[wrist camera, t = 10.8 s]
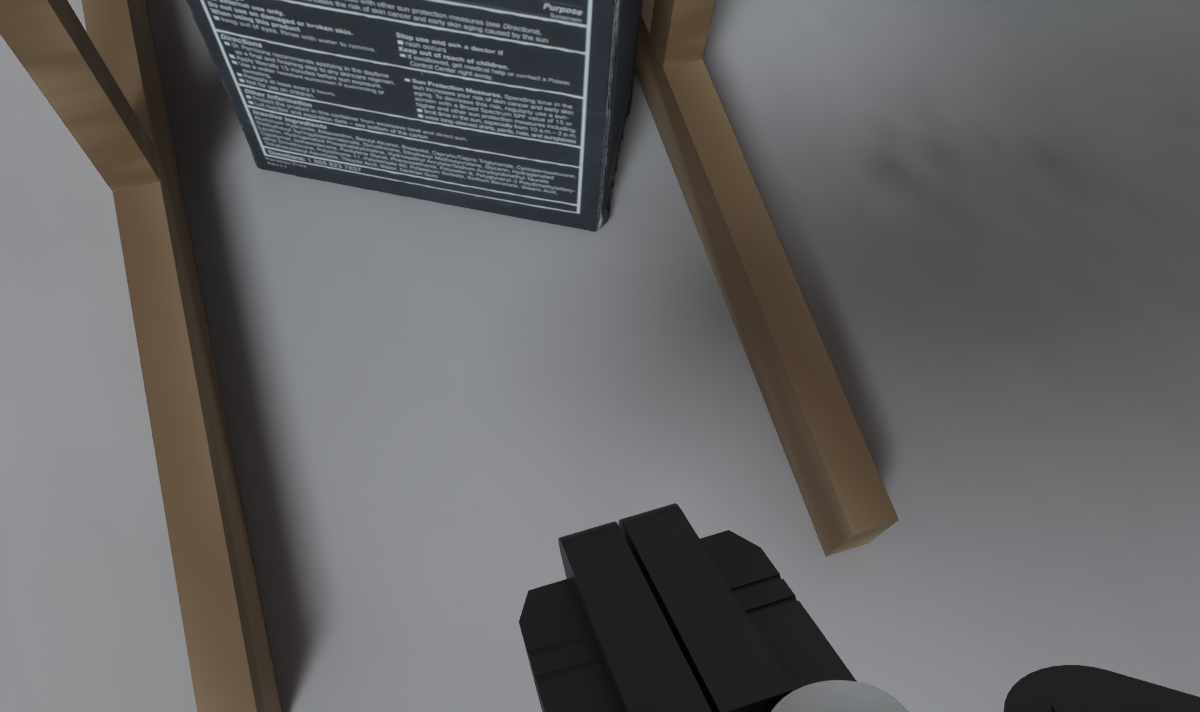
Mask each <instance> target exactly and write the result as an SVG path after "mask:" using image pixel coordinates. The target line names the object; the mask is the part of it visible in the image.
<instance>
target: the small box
mask: <svg viewBox="0 0 1200 712" xmlns="http://www.w3.org/2000/svg"><path fill="white" fill-rule="evenodd" d="M186 1H187V3H188V5H189V7H190V10H191V13H192V16H193V18H194V20H195V22H196V24H197V26H198V28H199V31H200V33H201V35H202V37H203V39H204V42H205V44H206V46H207V49H208V51H209V54H210V56H211V58H212V60H213V62H214V64H215V66H216V69H217V72H218V74H219V76H220V79H221V80H222V83H223V86H224V87H225V89H226V91H227V93H228V96H229V100H230V102H231V104H232V107H233V109H234V111H235V113H236V115H237V117H238V119H239V121H240V124H241V125H242V130H243V132H244V134H245V136H246V139H247V141H248V143H249V145H250V148H251V150H252V154H253V157H254V160H255V163H256V165H257V167H259V168H260V169H264V170H270V171H275V172H281V173H285V174H290V175H296V176H300V177H305V178H310V179H316V180H322V181H328V182H333V183H337V184H343V185H348V186H353V187H359V188H364V189H368V190H375V191H380V192H385V193H391V194H396V195H401V196H406V197H412V198H417V199H423V200H429V201H434V202H438V203H444V204H449V205H454V206H460V207H465V208H470V209H476V210H482V211H487V212H492V213H497V214H503V215H508V216H514V217H518V218H524V219H529V220H534V221H540V222H546V223H551V224H558V225H562V226H568V227H574V228H579V229H585V230H589V231H593V232H594V231H597V230H598V229H600V228H601V227H603V225H604V224H605V223H606V222H607V221H608V214H609V203H610V197H609V193H610V190H611V189H612V188H613V185H614V184H613V180H612V179H613V175H614V173H615V172H616V169H617V166H616V162H617V160H618V151H619V148H620V142H621V140H622V138H623V129H624V125H625V119H626V117H627V116H628V115H629V112H630V106H631V98H632V89H633V80H634V75H635V60H636V53H637V46H638V36H639V28H640V19H641V10H642V3H643V0H186Z"/></svg>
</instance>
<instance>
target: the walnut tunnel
mask: <svg viewBox="0 0 1200 712" xmlns="http://www.w3.org/2000/svg"><path fill="white" fill-rule="evenodd" d="M715 1H716V0H643V3H642V10H641V19H640V28H639V36H638V46H637V53H636V60H635V73H636V75H637V78H638V80H639V83H640V85H641V88H642V90H643V93H644V95H645V98H646V101H647V103H648V106H649V108H650V111H651V113H652V116H653V118H654V121H655V123H656V126H657V128H658V131H659V134H660V136H661V139H662V141H663V144H664V146H665V149H666V151H667V154H668V156H669V159H670V161H671V164H672V167H673V169H674V172H675V174H676V177H677V179H678V182H679V184H680V187H681V189H682V192H683V194H684V197H685V200H686V202H687V205H688V207H689V210H690V212H691V215H692V217H693V220H694V222H695V225H696V227H697V230H698V233H699V235H700V238H701V240H702V243H703V245H704V248H705V250H706V253H707V255H708V258H709V260H710V263H711V266H712V268H713V271H714V273H715V276H716V278H717V281H718V283H719V286H720V288H721V291H722V293H723V296H724V299H725V301H726V304H727V306H728V309H729V311H730V314H731V316H732V319H733V321H734V324H735V326H736V329H737V332H738V334H739V337H740V339H741V342H742V344H743V347H744V349H745V352H746V354H747V357H748V359H749V362H750V365H751V367H752V370H753V372H754V375H755V377H756V380H757V382H758V385H759V387H760V390H761V393H762V395H763V398H764V400H765V403H766V405H767V408H768V410H769V413H770V415H771V418H772V420H773V423H774V426H775V428H776V431H777V433H778V436H779V438H780V441H781V443H782V446H783V448H784V451H785V453H786V456H787V459H788V461H789V464H790V466H791V469H792V471H793V474H794V476H795V479H796V481H797V484H798V486H799V489H800V492H801V494H802V497H803V499H804V502H805V504H806V507H807V509H808V512H809V514H810V517H811V519H812V522H813V525H814V527H815V530H816V532H817V535H818V537H819V540H820V542H821V545H822V547H823V550H824V552H825V555H826V556H828V555H831V554H835V553H838V552H841V551H844V550H847V549H851V548H854V547H857V546H860V545H863V544H866V543H869V542H870V541H871V540H873V539H874V538H875V537H877V536H878V535H879V534H881V533H882V532H883V531H885V530H886V529H887V528H889V527H890V526H891V525H893V524H894V523H895V522H897V521H898V518H897V515H896V513H895V510H894V508H893V506H892V503H891V501H890V499H889V496H888V494H887V492H886V489H885V487H884V485H883V482H882V480H881V478H880V475H879V473H878V470H877V468H876V466H875V463H874V461H873V459H872V456H871V454H870V452H869V449H868V447H867V445H866V442H865V440H864V438H863V435H862V433H861V430H860V428H859V426H858V423H857V421H856V419H855V416H854V414H853V412H852V409H851V407H850V405H849V402H848V400H847V398H846V395H845V393H844V390H843V388H842V386H841V383H840V381H839V379H838V376H837V374H836V372H835V369H834V367H833V365H832V362H831V360H830V358H829V355H828V353H827V350H826V348H825V346H824V343H823V341H822V339H821V336H820V334H819V332H818V329H817V327H816V325H815V322H814V320H813V318H812V315H811V313H810V310H809V308H808V306H807V303H806V301H805V299H804V296H803V294H802V292H801V289H800V287H799V285H798V282H797V280H796V278H795V275H794V273H793V270H792V268H791V266H790V263H789V261H788V259H787V256H786V254H785V252H784V249H783V247H782V245H781V242H780V240H779V238H778V235H777V233H776V230H775V228H774V226H773V223H772V221H771V219H770V216H769V214H768V212H767V209H766V207H765V205H764V202H763V200H762V197H761V195H760V193H759V190H758V188H757V186H756V183H755V181H754V179H753V176H752V174H751V172H750V169H749V167H748V165H747V162H746V160H745V157H744V155H743V153H742V150H741V148H740V146H739V143H738V141H737V139H736V136H735V134H734V132H733V129H732V127H731V125H730V122H729V120H728V117H727V115H726V113H725V110H724V108H723V106H722V103H721V101H720V99H719V96H718V94H717V92H716V89H715V87H714V85H713V82H712V80H711V77H710V75H709V73H708V70H707V68H706V66H705V63H704V61H703V55H704V50H705V46H706V41H707V37H708V32H709V28H710V23H711V19H712V14H713V10H714V5H715ZM82 5H83V11H84V17H85V24H86V30H87V33H86V31H85V29H84V28H83V26H82V24H81V23H80V21H79V19H78V17H77V16H76V14H75V12H74V11H73V9H72V7H71V6H70V4H69V2H68V1H67V0H0V34H1V36H2V37H3V38H4V40H5V41H6V43H7V44H8V45H9V47H10V48H11V50H12V51H13V52H14V54H15V55H16V57H17V58H18V59H19V61H20V62H21V64H22V65H23V66H24V68H25V69H26V71H27V72H28V73H29V75H30V76H31V78H32V79H33V80H34V82H35V83H36V85H37V86H38V88H39V89H40V90H41V92H42V93H43V95H44V96H45V97H46V99H47V100H48V102H49V103H50V104H51V106H52V107H53V109H54V110H55V111H56V113H57V114H58V116H59V117H60V118H61V120H62V121H63V123H64V124H65V125H66V127H67V128H68V130H69V131H70V132H71V134H72V135H73V137H74V138H75V139H76V141H77V142H78V144H79V145H80V146H81V148H82V149H83V151H84V152H85V153H86V155H87V156H88V158H89V159H90V160H91V162H92V163H93V165H94V166H95V167H96V169H97V170H98V172H99V173H100V174H101V176H102V177H103V179H104V180H105V182H106V183H107V184H108V186H109V187H110V189H111V190H112V191H113V196H114V202H115V208H116V214H117V220H118V226H119V232H120V239H121V245H122V251H123V257H124V263H125V269H126V275H127V282H128V288H129V294H130V300H131V306H132V312H133V318H134V325H135V331H136V337H137V343H138V349H139V355H140V362H141V368H142V374H143V380H144V386H145V392H146V398H147V405H148V411H149V417H150V423H151V429H152V435H153V441H154V448H155V454H156V460H157V466H158V472H159V478H160V484H161V491H162V497H163V503H164V509H165V515H166V521H167V527H168V534H169V540H170V546H171V552H172V558H173V564H174V570H175V577H176V583H177V589H178V595H179V601H180V607H181V613H182V620H183V626H184V632H185V638H186V644H187V650H188V656H189V663H190V669H191V675H192V681H193V687H194V693H195V699H196V706H197V712H282V711H281V706H280V700H279V695H278V690H277V685H276V679H275V674H274V669H273V664H272V658H271V653H270V648H269V643H268V638H267V632H266V627H265V622H264V617H263V611H262V606H261V601H260V596H259V590H258V585H257V580H256V575H255V569H254V564H253V559H252V554H251V548H250V543H249V538H248V533H247V528H246V522H245V517H244V512H243V507H242V501H241V496H240V491H239V486H238V480H237V475H236V470H235V465H234V459H233V454H232V449H231V444H230V439H229V433H228V428H227V423H226V418H225V412H224V407H223V402H222V397H221V391H220V386H219V381H218V376H217V370H216V365H215V360H214V355H213V350H212V344H211V339H210V334H209V329H208V323H207V318H206V313H205V308H204V302H203V297H202V292H201V287H200V281H199V276H198V271H197V266H196V260H195V255H194V250H193V245H192V240H191V234H190V229H189V224H188V219H187V213H186V208H185V203H184V198H183V192H182V187H181V182H180V177H179V171H178V166H177V161H176V156H175V151H174V145H173V140H172V135H171V130H170V124H169V119H168V114H167V109H166V103H165V98H164V93H163V88H162V82H161V77H160V72H159V67H158V61H157V56H156V51H155V46H154V41H153V35H152V30H151V25H150V20H149V14H148V9H147V4H146V0H82Z"/></svg>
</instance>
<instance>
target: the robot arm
mask: <svg viewBox="0 0 1200 712" xmlns="http://www.w3.org/2000/svg"><path fill="white" fill-rule="evenodd" d="M559 547H560V552H561V556H562V560H563V565H564V569H565V573H566V577H567V579H566V580H562V581H559V582H556V583H552V584H549V585H546V586H542V587H539V588H536V589H532V590H529V591H528V594H527V597H526V601H525V604H524V607H523V610H522V614H521V617H520V620H519V624H520V628H521V632H522V636H523V639H524V643H525V647H526V651H527V655H528V658H529V662H530V666H531V670H532V674H533V677H534V681H535V685H536V689H537V693H538V696H539V700H540V704H541V708H542V712H908V711H907V710H906V709H905V708H904V707H903V706H902V705H901V704H900V703H899V702H898V701H897V700H896V699H895V698H893V697H892V696H890V695H889V694H888V693H886V692H884V691H882V690H880V689H878V688H876V687H873V686H870V685H867V684H864V683H860V682H857V681H856V680H855V678H854V677H853V676H852V674H851V673H850V671H849V670H848V669H847V667H846V666H845V664H844V663H843V662H842V660H841V659H840V657H839V656H838V655H837V653H836V652H835V650H834V649H833V648H832V646H831V645H830V643H829V642H828V641H827V639H826V638H825V636H824V635H823V634H822V632H821V631H820V630H819V628H818V627H817V625H816V624H815V623H814V621H813V620H812V618H811V617H810V616H809V614H808V613H807V611H806V610H805V609H804V607H803V606H802V604H801V603H800V602H799V601H797V600H796V598H795V595H794V593H793V592H792V590H791V589H790V588H789V586H788V585H787V584H786V582H785V581H784V579H782V580H781V577H780V574H779V572H778V571H777V570H776V568H775V567H774V565H773V564H772V563H771V561H770V560H769V558H768V557H767V556H766V554H765V553H764V551H763V550H762V549H761V548H760V547H758V546H757V545H755V544H753V543H751V542H749V541H748V540H746V539H744V538H742V537H740V536H738V535H737V534H735V533H733V532H731V531H729V530H728V531H724V532H721V533H718V534H714V535H711V536H708V537H704V538H701V539H699V538H698V536H697V534H696V533H695V531H694V530H693V528H692V526H691V525H690V523H689V522H688V520H687V518H686V517H685V515H684V514H683V512H682V510H681V509H680V507H679V506H678V505H677V504H671V505H668V506H665V507H661V508H658V509H654V510H651V511H648V512H644V513H641V514H638V515H634V516H631V517H627V518H624V519H621V520H619V526H618V524H617V523H616V522H611V523H608V524H604V525H601V526H598V527H594V528H591V529H587V530H584V531H581V532H577V533H574V534H570V535H567V536H564V537H560V538H559ZM1004 712H1200V697H1197V696H1194V695H1190V694H1187V693H1183V692H1180V691H1177V690H1173V689H1170V688H1166V687H1163V686H1159V685H1156V684H1152V683H1149V682H1146V681H1142V680H1139V679H1135V678H1132V677H1128V676H1125V675H1122V674H1118V673H1115V672H1111V671H1108V670H1104V669H1099V668H1095V667H1089V666H1081V665H1062V666H1053V667H1048V668H1044V669H1040V670H1038V671H1035V672H1032V673H1030V674H1028V675H1027V676H1025V677H1023V678H1022V679H1020V680H1019V681H1018V682H1017V683H1016V684H1015V685H1014V686H1013V687H1012V688H1011V690H1010V691H1009V693H1008V695H1007V698H1006V700H1005V705H1004Z"/></svg>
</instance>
